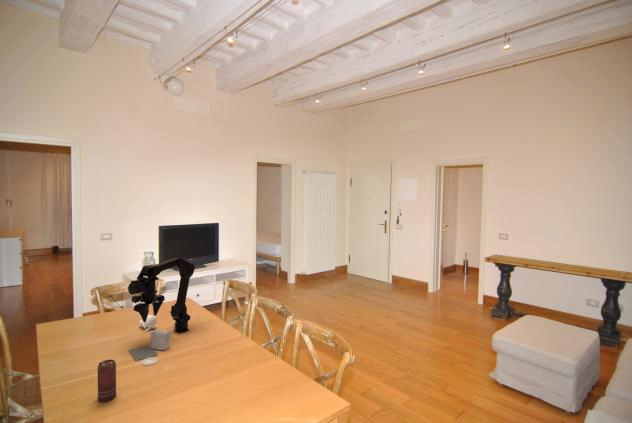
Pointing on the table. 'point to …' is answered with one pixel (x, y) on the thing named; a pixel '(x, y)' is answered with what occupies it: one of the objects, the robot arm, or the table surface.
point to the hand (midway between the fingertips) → (150, 318)
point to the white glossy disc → (149, 361)
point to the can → (106, 380)
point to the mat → (142, 353)
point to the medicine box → (160, 340)
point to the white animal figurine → (148, 322)
